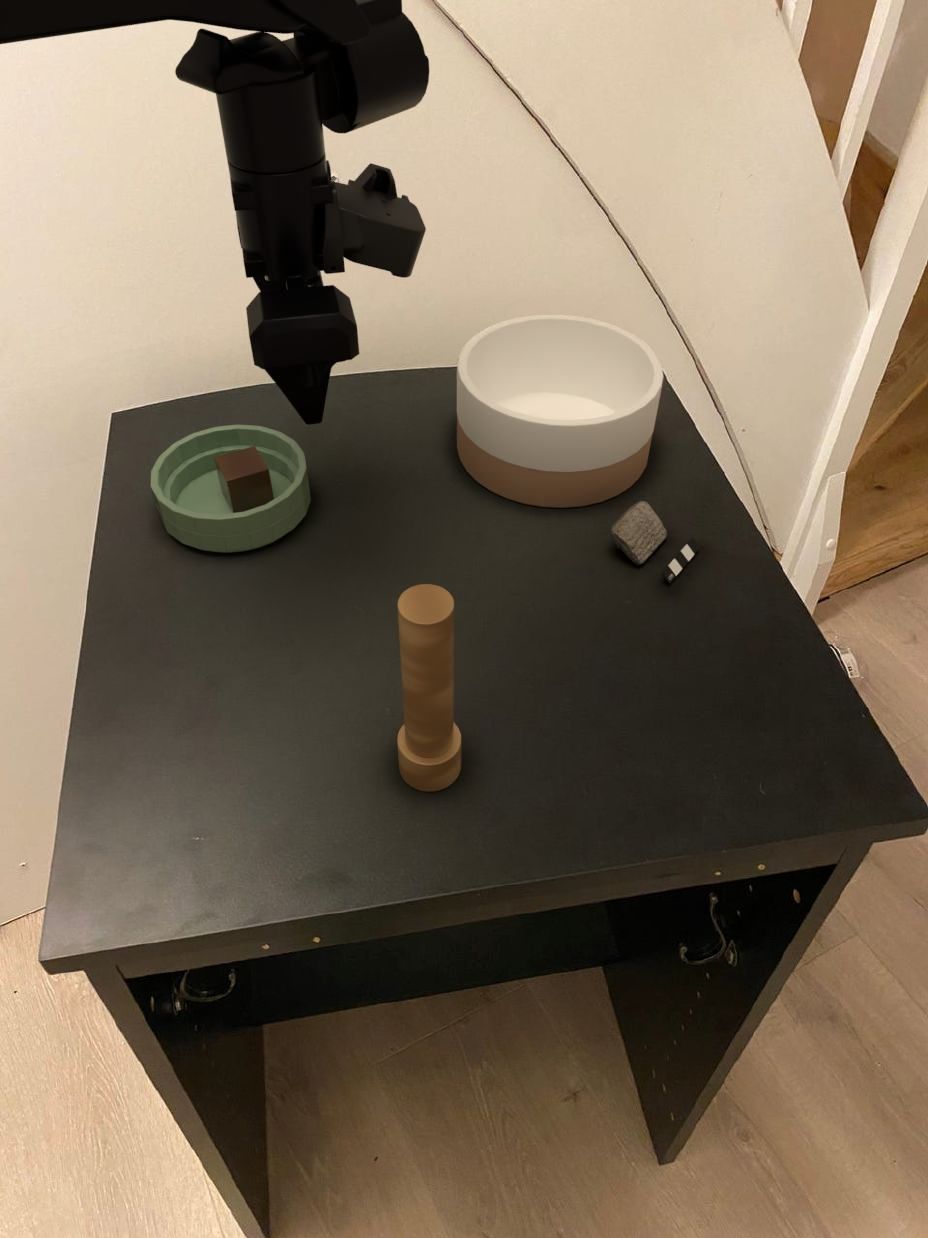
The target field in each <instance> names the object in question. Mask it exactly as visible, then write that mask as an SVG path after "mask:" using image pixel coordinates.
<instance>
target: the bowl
mask: <svg viewBox="0 0 928 1238" xmlns="http://www.w3.org/2000/svg"><path fill="white" fill-rule="evenodd" d="M456 366H457V367H456V449H457V454H458V458H459V460H460V462H461V464H462V466H463V468H464V469H465V471H466V472H467V474H469V475H470V476H471V477H472V478H473V480H475V481H476V483H478V484H480V485H481V486H483V487H484V488H486V489H487V490H488V491H489V492H492V493H494V494H496V495H499V496H501V497H502V498H505V499H507V500H511V501H514V502H517V503H521V504H524V505H530V506H534V507H535V506H536V507H540V508H541V507H542V508H558V509H559V508H560V509H561V508H562V509H566V508H576V507H586V506H589V505H594V504H597V503H602V502H604V501H607V500H609V499H612V498H615V497H617V496H619V495H620V494H622V493H623V492H625V491H627V490H628V489H630V488H631V487H632V486H634V484H635V483H636V482H637V481H638V480H639V479H640V478H641V476H642V475H643V473H644V471H645V469H646V468H647V466H648V460H649V455H650V449H651V445H652V439H653V433H654V430H655V426H656V420H657V415H658V410H659V404H660V399H661V394H662V389H663V383H664V378H665V377H664V371H663V366H662V362H661V361H660V359H659V357H658V356H657V354H656V352H655V351H654V350H653V349H652V348H651V347H650V346H649V345H648V344H647V343H646V342H645V341H644V340H642V339H641V338H639V337H638V336H637V335H635V334H633V333H632V332H629V331H627V330H625V329H623V328H622V327H619V326H616V325H614V324H611V323H608V322H605V321H602V320H598V319H594V318H590V317H586V316H585V317H584V316H579V315H578V316H576V315H570V314H549V313H548V314H534V315H533V314H532V315H526V316H519V317H514V318H510V319H507V320H503V321H501V322H500V321H499V322H497V323H495V324H493V325H491V326H488V327H486V328H484V329H482V330H481V331H479V332H478V333H476V334H475V335H473V336H472V337H471V338H470V339H469V340H468V341H467V343H466V344H465V345H463V347H462V350H461V351H460V353H459V356H458V358H457V365H456Z"/></svg>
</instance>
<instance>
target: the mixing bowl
mask: <svg viewBox="0 0 928 1238" xmlns="http://www.w3.org/2000/svg"><path fill="white" fill-rule="evenodd" d="M253 446H255V447H256V448H257V450H258V452H259V453H260V455H261V457H262V458H263V460H264V462H265V463H266V465H267V467H268V469H269V473H270V478H271V484H272V490H273V496H274V500H272V501H270V502H269V503H267V504H265V505H262V506H259V507H256V508H253V509H250V510H247V511H244V512H237V513H233V512H232V510H231V508H230V506H229V504H228V502H227V500H226V498H225V497H224V495H223V493H222V491H221V487H220V482H219V478H218V473H217V469H216V464H215V460H214V457H216V456H220V455H224V454H227V453H231V452H234V451H238V450H242V449H245V448H249V447H253ZM308 474H309V473H308V467H307V461H306V454H305V452H304V451H303V450H302V448H301V447H300V445H299V444H298V443H297V442H296V440H294V439H292V438H291V437H289V436H288V435H286V434H284V433H283V432H281V431H279V430H276V429H272V428H269V427H266V426H261V425H253V424H252V425H251V424H229V425H221V426H213V427H210V428H206V429H203V430H200V431H196V432H193V433H191V434H188V435H187V436H185V437H183V438H181V439H179V440H177V441H176V442H174V443H173V444H171V445H170V446H169V447H168V448H167V449H166V450H165V451H163V452H162V453H161V454H159V457H158V458H157V459H156V461H155V463H154V465H153V467H152V468H151V471H150V489H151V492H152V495H153V499H154V503H155V506H156V510H157V513H158V516H159V520H160V521H161V523H162V525H163V527H164V529H165V530H166V532H167V533H168V534H169V535H171V536H172V537H173V538H174V539H176V540H177V541H178V542H180V543H181V544H182V545H185V546H189V547H191V548H193V549H197V550H201V551H206V552H212V553H230V554H231V553H240V552H247V551H251V550H255V549H259V548H262V547H265V546H268V545H270V544H272V543H273V542H276V541H278V540H279V539H281V538H283V537H284V536H286V535H287V534H288V533H290V532H291V531H293V530H294V529H295V528H296V527H297V526H298V525H299V523H301V522H302V520H303V519H304V518H305V516H306V515H307V513H308V510H309V507H310V504H311V502H312V497H311V489H310V482H309V475H308Z"/></svg>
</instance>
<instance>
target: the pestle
mask: <svg viewBox="0 0 928 1238" xmlns="http://www.w3.org/2000/svg"><path fill="white" fill-rule="evenodd" d="M397 621H398V636H399V637H398V638H399V655H400V673H401V691H402V707H403V722H404V723H403V724H402V726H401V727H400V728H399V731H398V733H397V737H396V738H397V739H396V743H397V744H396V745H397V754H398V755H397V759H398V770H399V774H400V777H401V778H402V779H403V781H404V782H405V783H406V784H407V785H408V786H410V787H411V788H412V789H414V790H417V791H420V792H427V793H428V792H429V793H430V792H439V791H442V790H444V789H446V788H448V787H450V786H451V785H452V784H454V783H455V782H456V781H457V779H458V778H459V775H460V773H461V769H462V734H461V733H462V732H461V730H460V729H459V727H458V725H457V724H456V723H455V722H454V720H455V719H454V716H455V713H454V710H455V709H454V705H455V704H454V703H455V702H454V701H455V700H454V699H455V698H454V697H455V693H454V692H455V600H454V597H453V596H452V594H451V593H450V592H449V591H448V590H447V589H445V588H444V587H442V586H440V585H436V584H431V583H421V584H416V585H413V586H410V587H409V588H407V589H406V590H404V591H403V592H402V593H401V595H399V598H398V599H397Z"/></svg>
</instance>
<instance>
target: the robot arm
mask: <svg viewBox="0 0 928 1238" xmlns="http://www.w3.org/2000/svg"><path fill="white" fill-rule="evenodd" d="M162 21H163V22H164V21H177V22H190V23H195V24H202V25H207V26H214V27H219V28H226V29H233V30H238V31H248V32H251V33H248V34H245V35H241V36H238V37H235V38H231V39H230V38H229V37H228V36H226V35H224V34H221V33H218V32H215V31H212V30H209V29H206V28H199V29H198V30H197V32H196V36H195V38H194V42H193V43H192V45H191V47H190V48H189V49H188V50H187V51H186V52H185V53H184V54H183V56H181V59H180V61H179V62H178V64H177V65H176V67H175V70H174V73H175V76H176V78H177V79H178V80H179V81H181V82H183V83H186V84H188V85H191V86H194V87H197V88H199V89H201V90H204V91H207V92H210V93H212V94H215V98H216V104H217V108H218V114H219V121H220V126H221V133H222V138H223V144H224V149H225V156H226V160H227V167H228V173H229V181H230V189H231V197H232V202H233V203H232V204H233V209H234V212H235V218H236V228H237V233H238V239H239V244H240V249H241V251H242V258H243V259H242V261H243V267H244V272H245V277H246V279H248V278H249V279H250V278H252V279H253V281H254V283H255V285H256V286H257V288H258V290H259V292H258V293H257V294H256V295H255V296H254V297H253V299H251V301H250V303H248V305H247V306H246V307H245V309H246V319H247V320H246V321H247V329H248V338H249V344H250V348H251V354H252V361H253V365H254V366H256V367H258V368H259V369H261V370H264V372H266V373H267V375H268V376H269V377H270V379H271V380H272V381H273V382H274V383H275V384H276V387H278V388H279V390H280V391H281V393H282V394H283V395H284V396H285V398H286V399H287V401H288V402H289V403H290V404H291V406H292V407H293V409H294V410H295V411H296V413H297V414H298V415H299V417H300V419H301V420H302V422H304V424H305V425H308V426H311V425H319V424H321V423H323V419H324V413H325V407H326V401H327V395H328V388H329V382H330V378H331V377H330V376H331V373H332V368H333V367H334V366H335V365H336V364H337V363H343V362H346V361H352V360H353V359H354V358H356V357H358V355H360V344H359V334H358V333H359V331H358V323H357V320H356V317H355V313H354V308H353V305H352V302H351V298H350V296H349V295H347V294H346V293H344V292H343V291H341V289H339V288H338V287H337V286H335V284H329V285H324V281H323V276H322V272H323V273H324V274H326V275H329V274H330V275H331V274H341V273H346V268H345V260H347V261H350V262H352V263H355V264H357V265H363V266H367V267H370V268H374V269H379V270H383V271H386V272H389V273H390V274H391V275H392V276H393V277H397V278H398V277H399V278H405V279H406V278H409V277H411V276H412V273H413V270H414V267H415V264H416V262H417V258H418V255H419V252H420V249H421V246H422V243H423V241H424V237H425V234H426V231H427V228H426V225H425V222H424V220H423V218H422V215H421V213H420V211H419V208H418V207H417V206H416V204H414V203H413V202H411V201H410V200H409V196H408V195H405V194H401V196H400V197H399V196H398V191H397V185H396V180H395V178H394V174H393V171H392V170H391V169H390V168H388V167H385V166H381V165H378V164H375V163H369V164H368V165H367V166H366V167H365V168H364V170H363V171H362V172H361V173H360V174H359V175H358V176H357V177H356V178H355V179H354V180H352V179H348V181H347V184H346V183H342V182H337V181H333V179H332V170H331V165H330V161H329V160H328V159H327V157H326V147H325V138H324V136H325V135H324V127H325V128H326V129H328V130H329V131H331V132H333V133H336V134H347V133H350V132H352V131H356V130H358V129H361V128H363V127H366V126H369V125H372V124H375V123H376V122H379V121H383V120H385V119H387V118H389V117H392V116H395V115H398V114H400V113H403V112H405V111H408V110H410V109H413V108H415V107H417V106H418V105H419V104H420V103H421V102H422V100H423V98H424V97H425V95H426V93H427V89H428V86H429V80H430V60H429V57H428V56H427V55H426V51H425V47H424V44H423V42H422V39H421V36H420V34H419V31H418V30H417V28H416V27H415V25H414V23H413V21H412V20H411V19H409V17H408V16H407V15H406V14H405V13H404V12H403V0H0V45H5V44H11V43H17V42H18V43H19V42H25V41H33V40H39V39H47V38H52V37H53V38H54V37H60V36H66V35H75V34H80V33H87V32H88V33H89V32H94V31H102V30H108V29H114V28H121V27H127V26H134V25H135V26H136V25H142V24H150V23H155V22H162ZM274 34H282V35H285V34H292V35H293V37H290V38H288V39H284V40H281V39H280V38H279V37H277V36H276V35H274ZM323 126H324V127H323Z"/></svg>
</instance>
